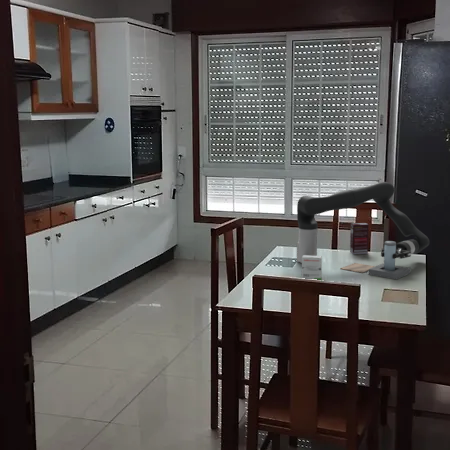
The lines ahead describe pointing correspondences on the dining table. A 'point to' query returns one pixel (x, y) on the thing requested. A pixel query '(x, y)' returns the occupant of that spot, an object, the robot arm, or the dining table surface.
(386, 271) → the frame
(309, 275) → the ink box
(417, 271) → the dining table surface
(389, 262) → the cylinder
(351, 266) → the pad
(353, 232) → the supplement box
